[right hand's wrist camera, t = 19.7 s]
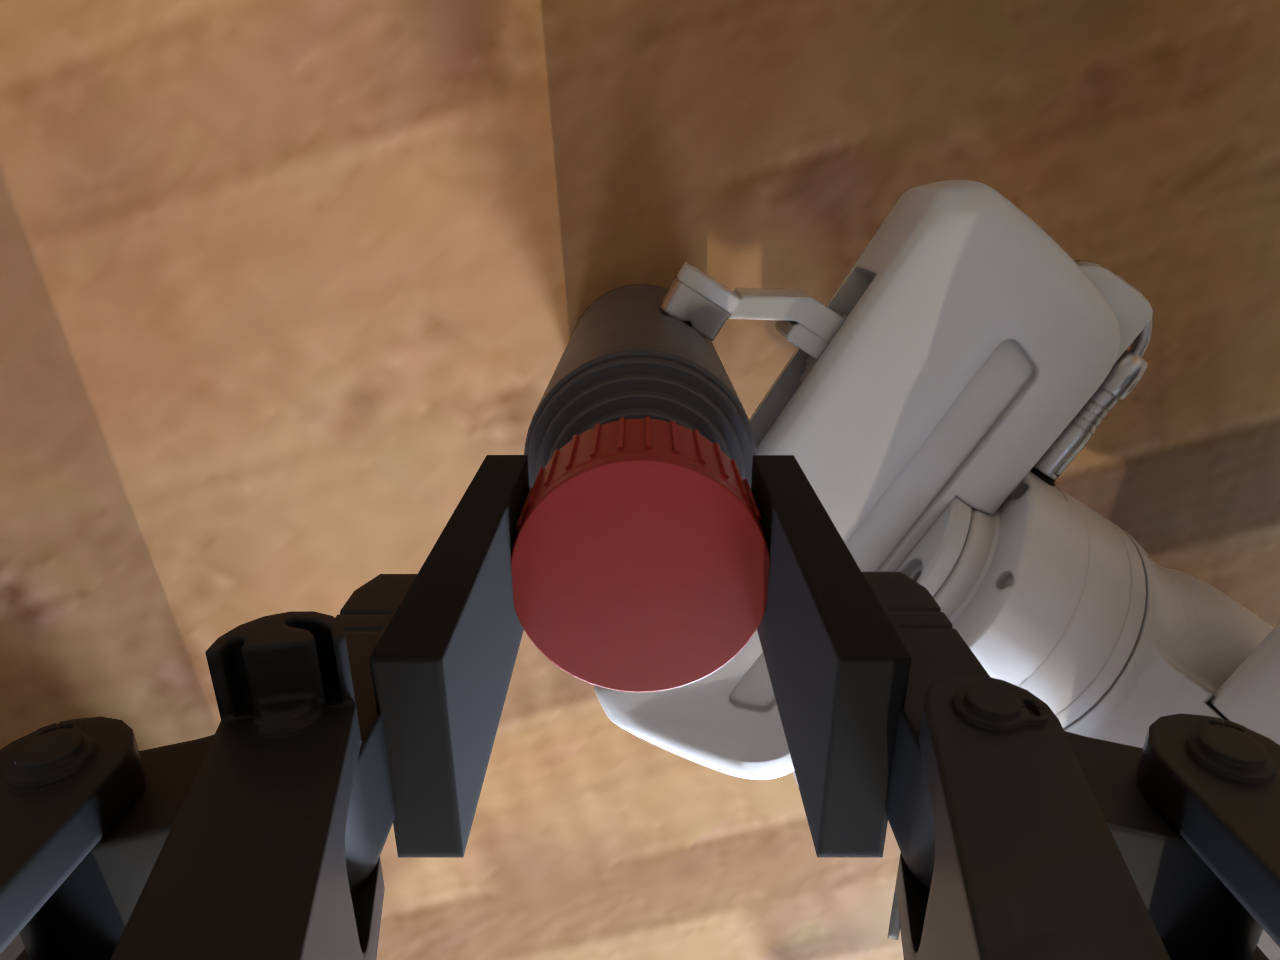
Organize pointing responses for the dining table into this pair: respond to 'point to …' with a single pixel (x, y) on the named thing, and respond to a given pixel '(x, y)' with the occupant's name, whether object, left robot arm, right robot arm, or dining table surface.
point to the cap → (640, 557)
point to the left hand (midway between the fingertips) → (614, 380)
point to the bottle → (638, 379)
